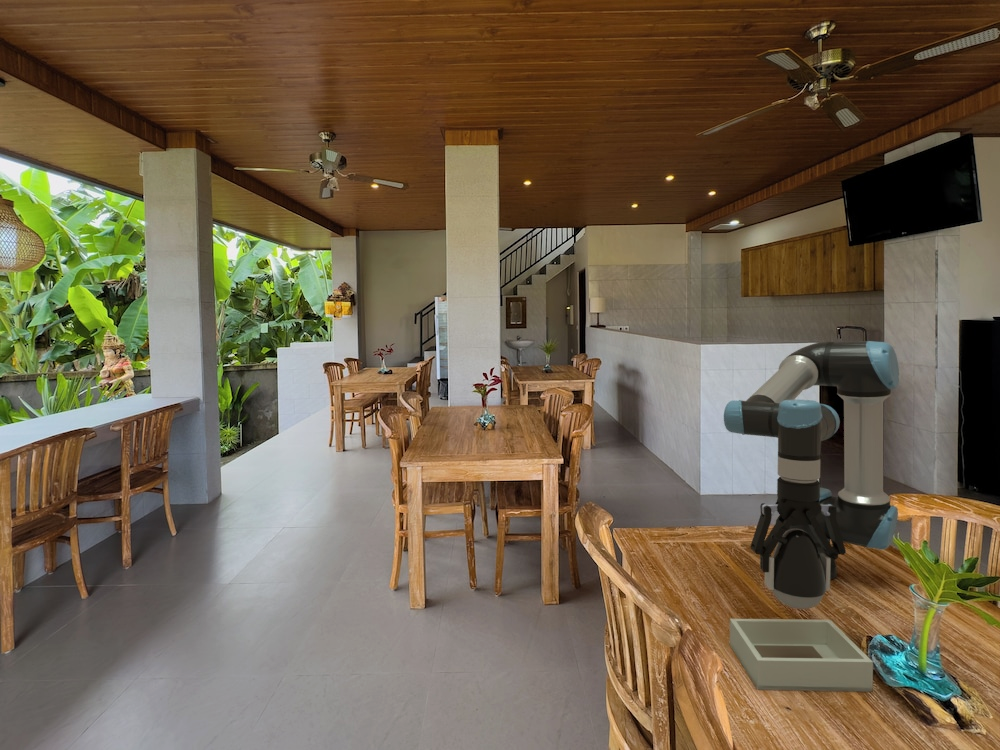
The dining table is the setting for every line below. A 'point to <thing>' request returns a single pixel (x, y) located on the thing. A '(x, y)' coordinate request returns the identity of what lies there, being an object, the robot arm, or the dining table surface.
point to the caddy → (800, 655)
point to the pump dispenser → (798, 570)
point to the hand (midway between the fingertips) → (796, 587)
